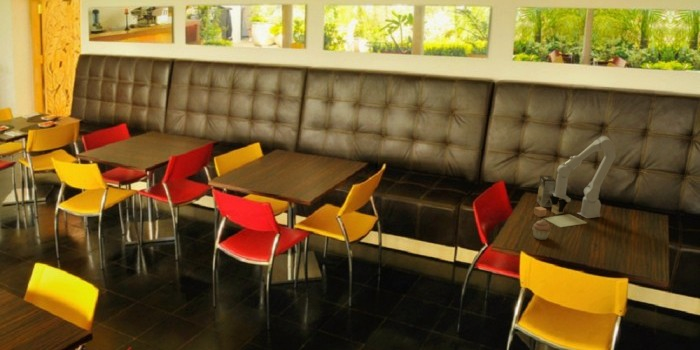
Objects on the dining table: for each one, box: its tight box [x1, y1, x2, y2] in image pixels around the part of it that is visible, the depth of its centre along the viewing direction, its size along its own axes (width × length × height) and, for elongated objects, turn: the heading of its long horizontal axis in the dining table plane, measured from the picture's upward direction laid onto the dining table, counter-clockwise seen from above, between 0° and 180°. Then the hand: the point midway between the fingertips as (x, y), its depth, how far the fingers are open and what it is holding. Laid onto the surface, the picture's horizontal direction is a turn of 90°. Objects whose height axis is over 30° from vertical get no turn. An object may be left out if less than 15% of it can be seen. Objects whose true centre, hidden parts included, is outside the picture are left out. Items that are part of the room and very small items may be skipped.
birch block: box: [550, 203, 565, 215], centre depth 329 cm, size 4×4×4 cm
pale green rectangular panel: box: [542, 213, 588, 228], centre depth 317 cm, size 18×13×1 cm
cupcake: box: [531, 218, 552, 241], centre depth 293 cm, size 9×9×10 cm
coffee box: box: [536, 175, 556, 208], centre depth 339 cm, size 9×6×16 cm
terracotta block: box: [533, 206, 547, 218], centre depth 324 cm, size 4×4×4 cm
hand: (557, 210), depth 329 cm, fingers closed on birch block, 4 cm apart
